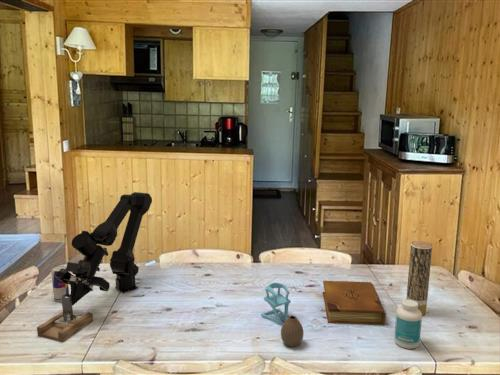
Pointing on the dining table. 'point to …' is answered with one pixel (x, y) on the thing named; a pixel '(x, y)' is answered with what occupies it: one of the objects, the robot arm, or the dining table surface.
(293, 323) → the vase
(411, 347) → the pill bottle
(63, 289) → the energy drink
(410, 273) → the wooden log
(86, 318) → the walnut guide
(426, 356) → the dining table surface
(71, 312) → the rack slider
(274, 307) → the chair
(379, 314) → the diary
